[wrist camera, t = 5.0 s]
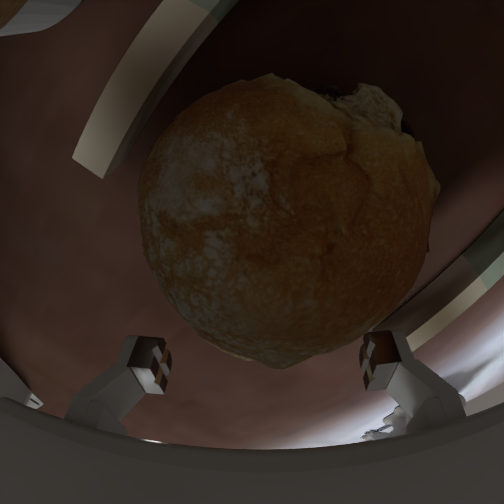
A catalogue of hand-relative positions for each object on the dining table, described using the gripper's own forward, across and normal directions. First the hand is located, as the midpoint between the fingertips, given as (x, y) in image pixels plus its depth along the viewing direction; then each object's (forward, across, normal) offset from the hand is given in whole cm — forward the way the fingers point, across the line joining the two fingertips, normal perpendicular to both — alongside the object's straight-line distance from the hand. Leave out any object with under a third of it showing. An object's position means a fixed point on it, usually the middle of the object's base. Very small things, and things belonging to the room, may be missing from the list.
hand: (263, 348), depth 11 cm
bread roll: (+5, -2, -5) cm, 8 cm away
